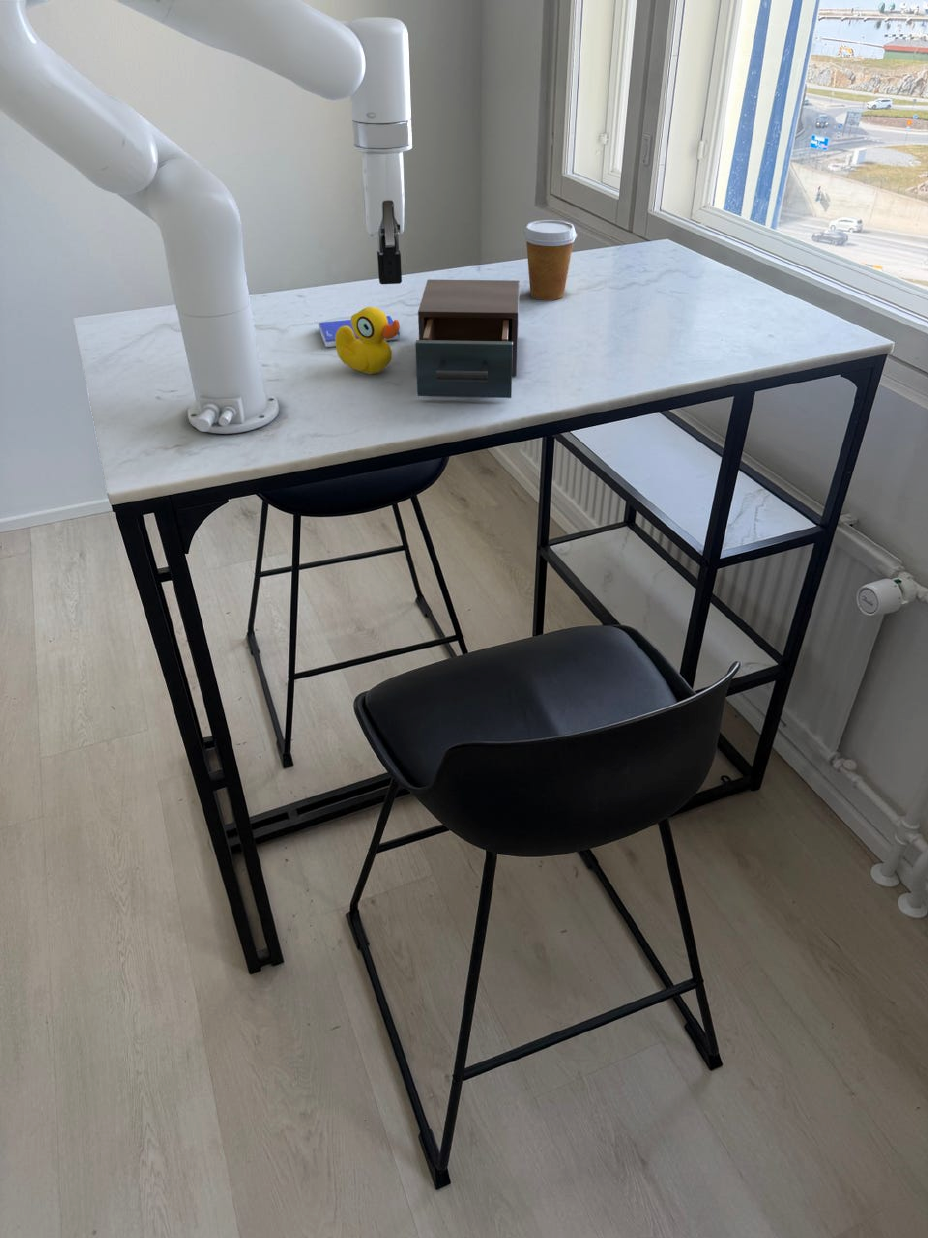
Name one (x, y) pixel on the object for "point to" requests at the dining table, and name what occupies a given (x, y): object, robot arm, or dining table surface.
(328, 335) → the hard drive
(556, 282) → the disposable coffee cup
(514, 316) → the cabinet
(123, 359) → the dining table surface
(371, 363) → the duckling
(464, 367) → the drawer
